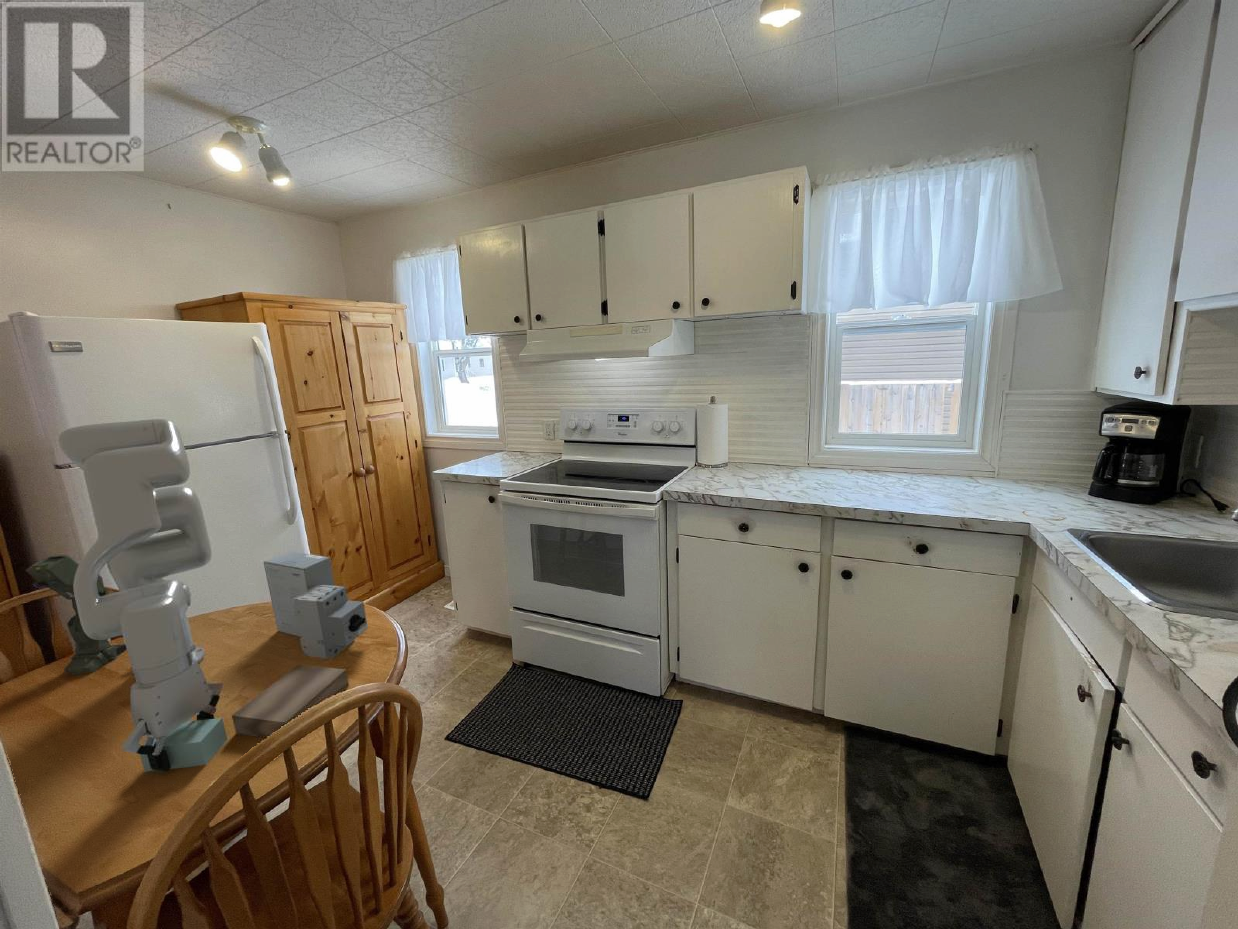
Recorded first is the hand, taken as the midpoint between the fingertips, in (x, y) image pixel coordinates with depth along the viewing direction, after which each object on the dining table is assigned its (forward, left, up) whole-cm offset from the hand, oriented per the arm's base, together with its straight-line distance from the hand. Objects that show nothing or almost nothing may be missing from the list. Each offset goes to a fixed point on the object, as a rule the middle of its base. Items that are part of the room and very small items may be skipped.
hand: (186, 750), depth 92 cm
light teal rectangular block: (0, 0, -1) cm, 1 cm away
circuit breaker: (+4, +34, -1) cm, 34 cm away
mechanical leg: (-52, +20, -1) cm, 56 cm away
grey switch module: (-11, +41, -1) cm, 42 cm away
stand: (+10, +14, -1) cm, 17 cm away
